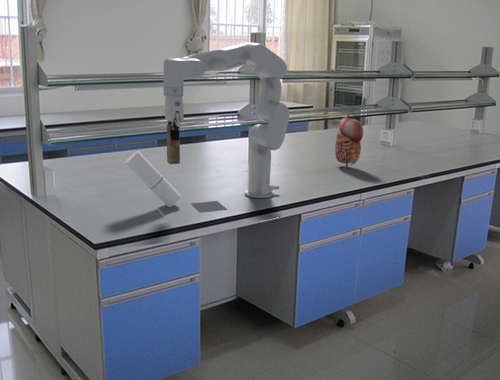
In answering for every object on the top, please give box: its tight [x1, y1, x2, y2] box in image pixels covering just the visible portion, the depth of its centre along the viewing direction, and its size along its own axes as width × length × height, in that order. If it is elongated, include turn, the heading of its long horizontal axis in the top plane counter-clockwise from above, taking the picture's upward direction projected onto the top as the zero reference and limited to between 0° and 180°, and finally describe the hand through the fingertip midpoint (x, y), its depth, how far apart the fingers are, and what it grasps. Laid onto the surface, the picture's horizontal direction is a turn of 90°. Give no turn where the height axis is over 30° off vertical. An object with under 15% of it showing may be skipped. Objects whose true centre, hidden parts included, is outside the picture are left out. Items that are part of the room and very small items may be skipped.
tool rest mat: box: [189, 200, 228, 213], centre depth 214 cm, size 12×12×1 cm
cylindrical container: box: [124, 150, 182, 208], centre depth 209 cm, size 7×7×25 cm
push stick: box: [166, 124, 181, 165], centre depth 205 cm, size 4×4×15 cm
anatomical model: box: [334, 113, 364, 168], centre depth 288 cm, size 12×16×30 cm
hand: (173, 138), depth 205 cm, fingers closed on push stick, 4 cm apart
